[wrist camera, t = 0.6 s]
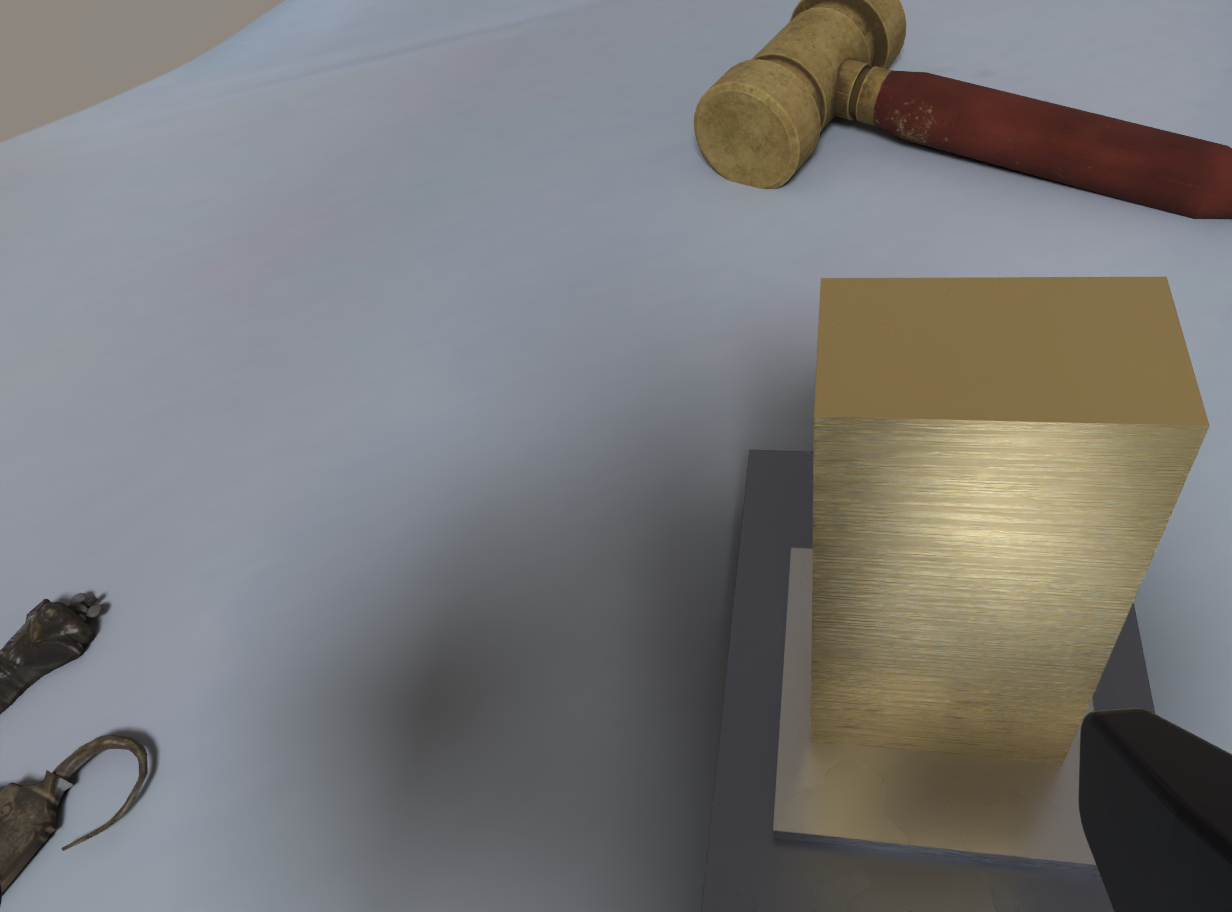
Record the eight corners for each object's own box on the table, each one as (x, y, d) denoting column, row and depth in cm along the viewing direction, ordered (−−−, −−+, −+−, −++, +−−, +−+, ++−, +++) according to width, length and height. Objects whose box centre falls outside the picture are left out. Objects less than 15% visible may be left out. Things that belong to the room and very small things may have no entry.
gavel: (1374, 72, 34) (1310, 238, 29) (1314, 186, 38) (1248, 352, 33) (812, -43, 43) (689, 71, 38) (805, 59, 46) (692, 175, 42)
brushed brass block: (1063, 763, 20) (1209, 426, 13) (811, 741, 22) (813, 416, 14) (1046, 634, 22) (1166, 276, 15) (815, 620, 23) (820, 277, 16)
